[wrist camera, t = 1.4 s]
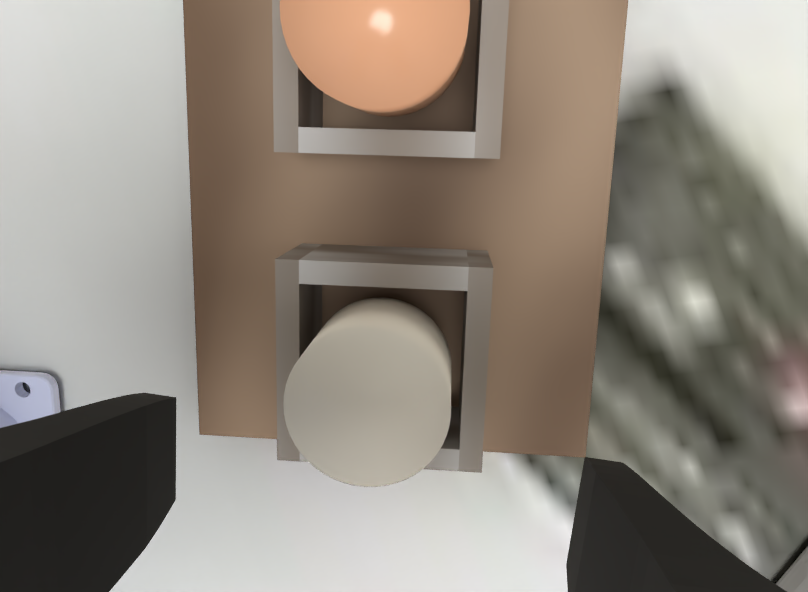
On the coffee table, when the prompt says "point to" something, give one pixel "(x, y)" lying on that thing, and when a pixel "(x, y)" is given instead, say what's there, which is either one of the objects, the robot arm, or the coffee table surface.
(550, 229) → the panel
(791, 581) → the electrical switch
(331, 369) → the plug cream
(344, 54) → the plug terracotta
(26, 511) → the robot arm
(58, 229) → the coffee table surface
